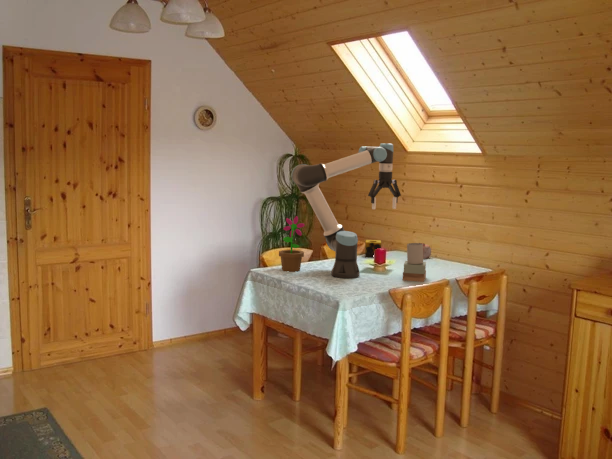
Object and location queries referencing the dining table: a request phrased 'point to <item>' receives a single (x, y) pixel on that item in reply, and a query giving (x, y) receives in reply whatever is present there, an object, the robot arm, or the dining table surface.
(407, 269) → the tower top block
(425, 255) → the food item
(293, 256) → the flowerpot
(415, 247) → the cup
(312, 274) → the dining table surface
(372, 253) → the yellow black cube
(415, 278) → the tower bottom block
